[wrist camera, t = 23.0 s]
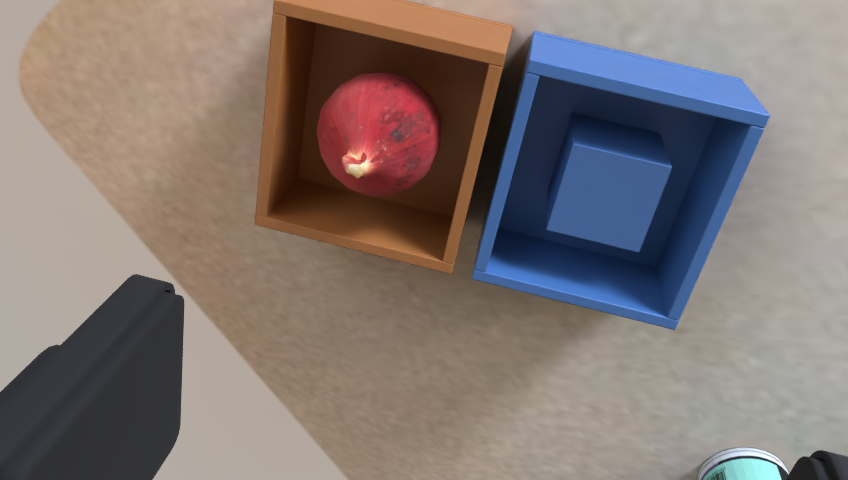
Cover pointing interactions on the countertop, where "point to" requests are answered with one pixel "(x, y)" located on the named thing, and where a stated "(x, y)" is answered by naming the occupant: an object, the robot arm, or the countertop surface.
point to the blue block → (607, 182)
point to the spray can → (743, 466)
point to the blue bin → (681, 198)
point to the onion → (379, 133)
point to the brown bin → (361, 54)
